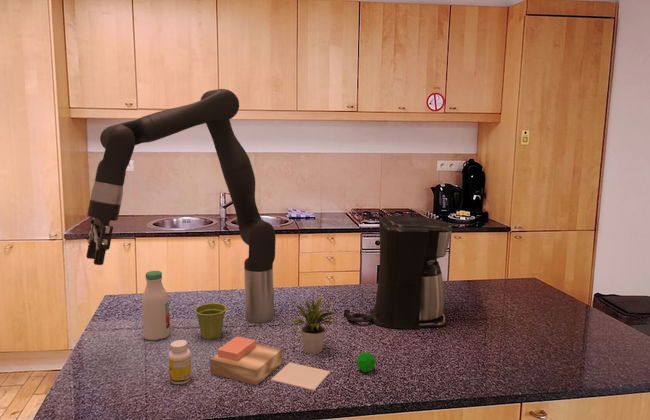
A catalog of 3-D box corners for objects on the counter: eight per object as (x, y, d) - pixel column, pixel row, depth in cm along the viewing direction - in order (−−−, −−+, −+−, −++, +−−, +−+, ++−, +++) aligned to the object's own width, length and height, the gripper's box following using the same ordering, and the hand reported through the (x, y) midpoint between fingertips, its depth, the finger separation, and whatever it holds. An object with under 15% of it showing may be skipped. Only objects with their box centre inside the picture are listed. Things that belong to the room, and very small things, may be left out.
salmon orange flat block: (237, 343, 139) (237, 336, 138) (255, 347, 136) (255, 340, 136) (217, 356, 131) (217, 349, 130) (237, 361, 128) (237, 353, 128)
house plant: (300, 367, 133) (300, 309, 131) (277, 347, 145) (276, 293, 142) (345, 354, 141) (345, 299, 138) (319, 337, 152) (319, 285, 150)
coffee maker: (460, 323, 163) (466, 222, 158) (375, 342, 149) (378, 231, 143) (418, 301, 183) (421, 211, 178) (339, 316, 169) (341, 218, 164)
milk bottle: (162, 342, 148) (158, 277, 145) (138, 339, 150) (134, 275, 146) (174, 331, 156) (172, 269, 152) (152, 329, 157) (148, 268, 154)
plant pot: (233, 331, 156) (232, 305, 154) (216, 344, 147) (216, 316, 146) (206, 327, 159) (205, 301, 157) (189, 339, 150) (188, 312, 149)
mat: (289, 363, 136) (289, 362, 136) (330, 372, 131) (330, 371, 131) (271, 380, 127) (271, 379, 127) (314, 390, 122) (314, 389, 122)
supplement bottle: (172, 374, 129) (170, 338, 128) (193, 373, 130) (192, 338, 128) (167, 385, 124) (165, 348, 122) (189, 384, 124) (188, 347, 123)
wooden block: (238, 353, 142) (238, 339, 141) (282, 362, 136) (282, 348, 135) (210, 373, 130) (209, 359, 129) (256, 385, 124) (256, 370, 124)
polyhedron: (374, 375, 129) (374, 358, 129) (355, 374, 130) (355, 356, 129) (375, 366, 134) (376, 350, 133) (357, 365, 135) (357, 348, 134)
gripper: (128, 205, 128) (116, 268, 128) (113, 200, 139) (102, 257, 139) (97, 201, 124) (84, 265, 124) (84, 195, 135) (73, 255, 135)
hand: (94, 261), depth 132 cm, fingers open, 8 cm apart
